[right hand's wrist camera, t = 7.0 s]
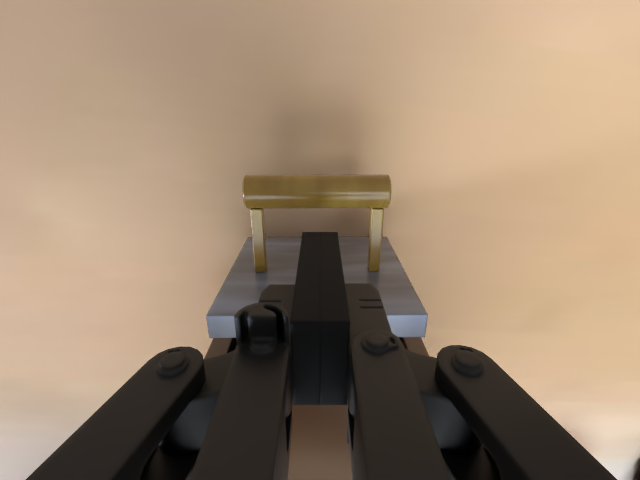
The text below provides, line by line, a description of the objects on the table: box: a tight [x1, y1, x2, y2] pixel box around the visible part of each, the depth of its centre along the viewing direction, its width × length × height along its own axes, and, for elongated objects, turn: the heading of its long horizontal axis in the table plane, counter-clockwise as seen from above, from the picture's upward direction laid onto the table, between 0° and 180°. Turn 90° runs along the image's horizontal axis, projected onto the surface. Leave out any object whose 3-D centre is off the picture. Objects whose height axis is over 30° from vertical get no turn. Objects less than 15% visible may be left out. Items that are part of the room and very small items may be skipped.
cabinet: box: [204, 337, 429, 480], centre depth 24 cm, size 19×11×12 cm, turn 0°
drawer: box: [206, 175, 428, 338], centre depth 21 cm, size 23×10×10 cm, turn 0°
